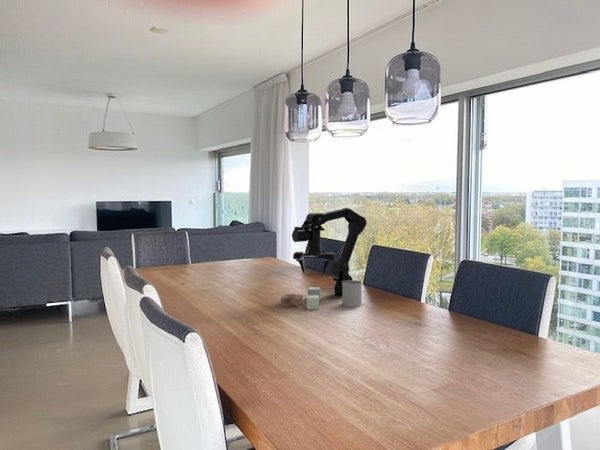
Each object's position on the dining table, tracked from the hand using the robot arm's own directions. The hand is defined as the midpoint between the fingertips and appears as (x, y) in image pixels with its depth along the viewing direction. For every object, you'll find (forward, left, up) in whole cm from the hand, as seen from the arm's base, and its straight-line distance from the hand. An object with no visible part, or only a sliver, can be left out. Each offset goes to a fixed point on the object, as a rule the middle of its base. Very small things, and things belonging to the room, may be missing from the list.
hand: (314, 274), depth 216 cm
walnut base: (+8, +12, -12) cm, 19 cm away
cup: (-18, +7, -12) cm, 23 cm away
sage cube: (-2, +16, -12) cm, 20 cm away
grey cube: (0, 0, -12) cm, 12 cm away
